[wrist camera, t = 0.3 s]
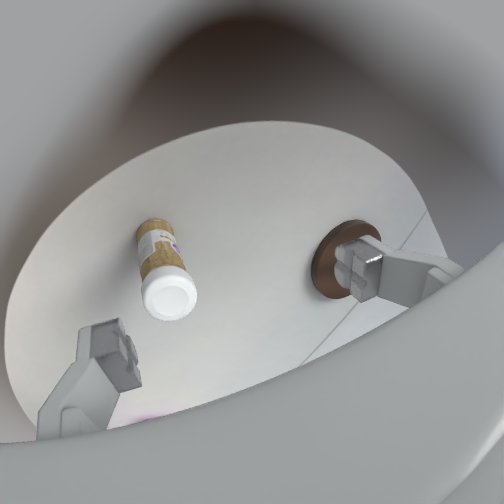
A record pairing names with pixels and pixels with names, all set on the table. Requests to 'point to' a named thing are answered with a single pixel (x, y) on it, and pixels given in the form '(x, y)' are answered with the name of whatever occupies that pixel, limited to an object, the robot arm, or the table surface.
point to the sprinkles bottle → (163, 273)
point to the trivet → (326, 257)
